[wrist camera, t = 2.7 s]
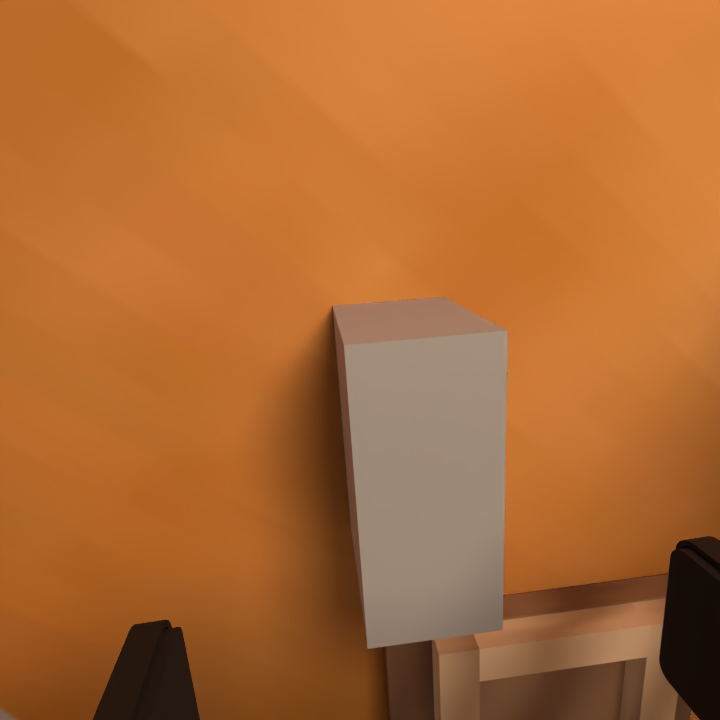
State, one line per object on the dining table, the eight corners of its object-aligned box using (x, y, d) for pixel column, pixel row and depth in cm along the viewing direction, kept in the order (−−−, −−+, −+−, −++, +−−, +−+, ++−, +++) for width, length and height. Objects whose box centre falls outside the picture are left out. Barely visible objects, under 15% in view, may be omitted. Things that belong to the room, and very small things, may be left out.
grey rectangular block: (442, 296, 18) (507, 330, 12) (447, 520, 20) (502, 638, 14) (332, 305, 17) (343, 345, 12) (351, 531, 20) (367, 657, 14)
